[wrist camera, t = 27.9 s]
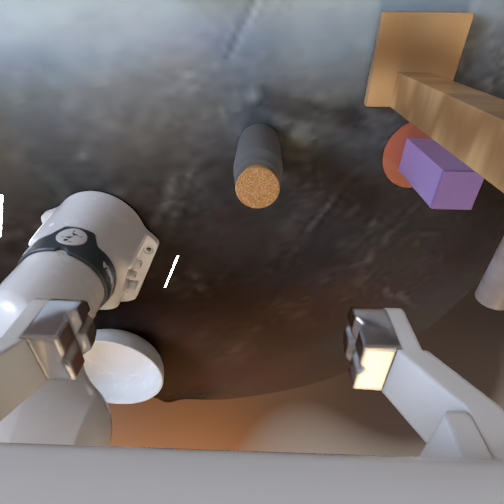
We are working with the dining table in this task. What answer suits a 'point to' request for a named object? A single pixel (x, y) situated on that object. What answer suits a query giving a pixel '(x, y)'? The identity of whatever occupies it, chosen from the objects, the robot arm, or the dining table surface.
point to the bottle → (258, 166)
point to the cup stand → (441, 103)
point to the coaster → (399, 152)
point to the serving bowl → (124, 367)
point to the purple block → (439, 175)
